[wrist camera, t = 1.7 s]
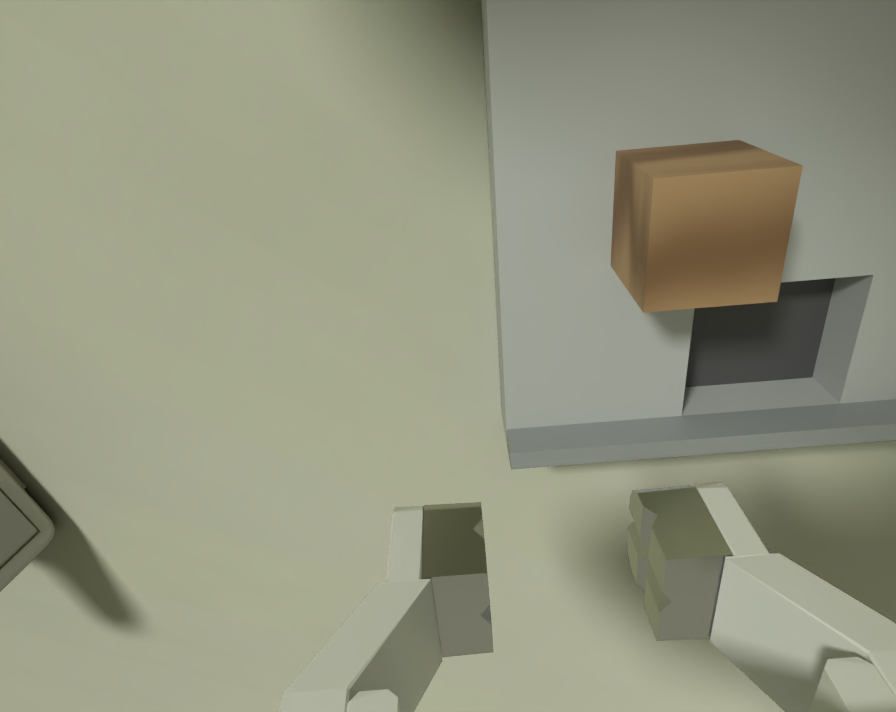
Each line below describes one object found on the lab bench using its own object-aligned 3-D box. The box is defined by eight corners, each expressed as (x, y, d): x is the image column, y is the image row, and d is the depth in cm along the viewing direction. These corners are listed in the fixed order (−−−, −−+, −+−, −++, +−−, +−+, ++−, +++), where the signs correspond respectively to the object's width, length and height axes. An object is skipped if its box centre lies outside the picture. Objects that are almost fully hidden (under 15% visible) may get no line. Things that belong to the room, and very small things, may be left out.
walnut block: (615, 150, 25) (653, 178, 21) (739, 139, 25) (802, 165, 21) (610, 265, 28) (643, 312, 23) (722, 256, 28) (777, 301, 23)
